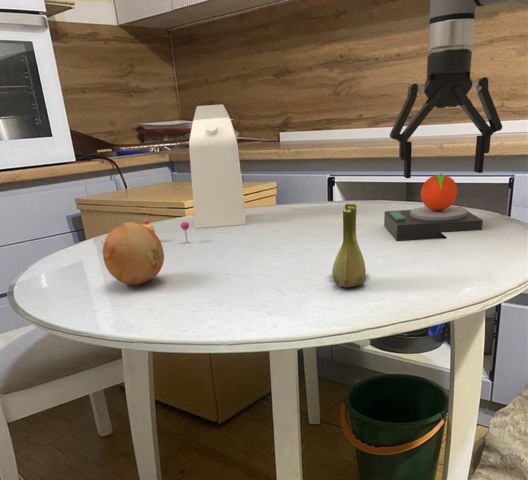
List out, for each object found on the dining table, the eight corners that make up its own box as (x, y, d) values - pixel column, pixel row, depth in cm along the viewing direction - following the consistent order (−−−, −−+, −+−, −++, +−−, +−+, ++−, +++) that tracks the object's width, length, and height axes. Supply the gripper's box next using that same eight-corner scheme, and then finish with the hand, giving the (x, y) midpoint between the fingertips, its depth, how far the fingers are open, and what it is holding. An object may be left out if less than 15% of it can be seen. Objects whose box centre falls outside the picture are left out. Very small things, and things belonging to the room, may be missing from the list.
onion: (152, 293, 83) (142, 229, 79) (97, 292, 86) (83, 230, 82) (178, 274, 92) (169, 216, 87) (126, 273, 94) (116, 216, 90)
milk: (245, 215, 136) (236, 103, 125) (245, 224, 126) (236, 103, 115) (199, 218, 136) (186, 107, 125) (195, 228, 126) (180, 107, 115)
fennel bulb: (351, 293, 77) (351, 209, 72) (323, 287, 80) (322, 206, 75) (373, 282, 81) (374, 202, 76) (346, 277, 84) (346, 199, 79)
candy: (104, 255, 108) (98, 225, 105) (102, 247, 114) (96, 218, 112) (192, 242, 112) (188, 213, 110) (184, 235, 119) (180, 207, 117)
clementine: (458, 214, 102) (461, 176, 99) (420, 215, 104) (422, 177, 101) (454, 206, 109) (457, 170, 106) (419, 207, 111) (421, 171, 108)
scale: (459, 220, 114) (460, 202, 113) (481, 235, 102) (483, 215, 100) (384, 225, 115) (384, 207, 114) (396, 240, 103) (397, 221, 101)
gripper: (513, 46, 97) (501, 167, 106) (375, 58, 99) (374, 177, 108) (530, 41, 91) (515, 171, 99) (382, 55, 92) (381, 182, 101)
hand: (442, 175), depth 104 cm, fingers open, 13 cm apart
